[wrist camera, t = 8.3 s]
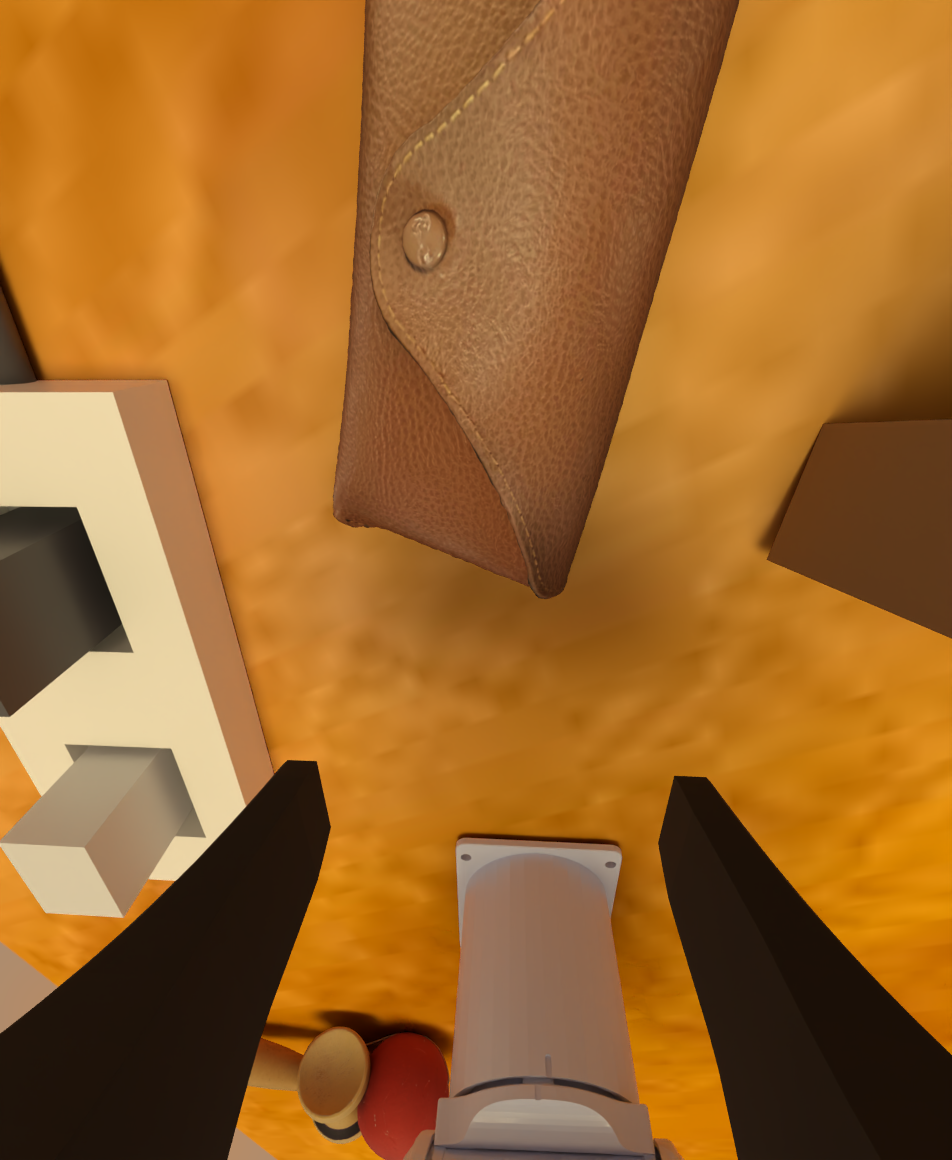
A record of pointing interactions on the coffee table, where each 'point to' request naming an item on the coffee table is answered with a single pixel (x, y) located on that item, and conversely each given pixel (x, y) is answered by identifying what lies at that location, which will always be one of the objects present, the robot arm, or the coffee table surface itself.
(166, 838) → the beige plug
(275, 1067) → the kendama
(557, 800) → the coffee table surface
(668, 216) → the sunglasses case
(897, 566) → the photo frame
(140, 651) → the power strip
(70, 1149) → the robot arm
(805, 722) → the coffee table surface
